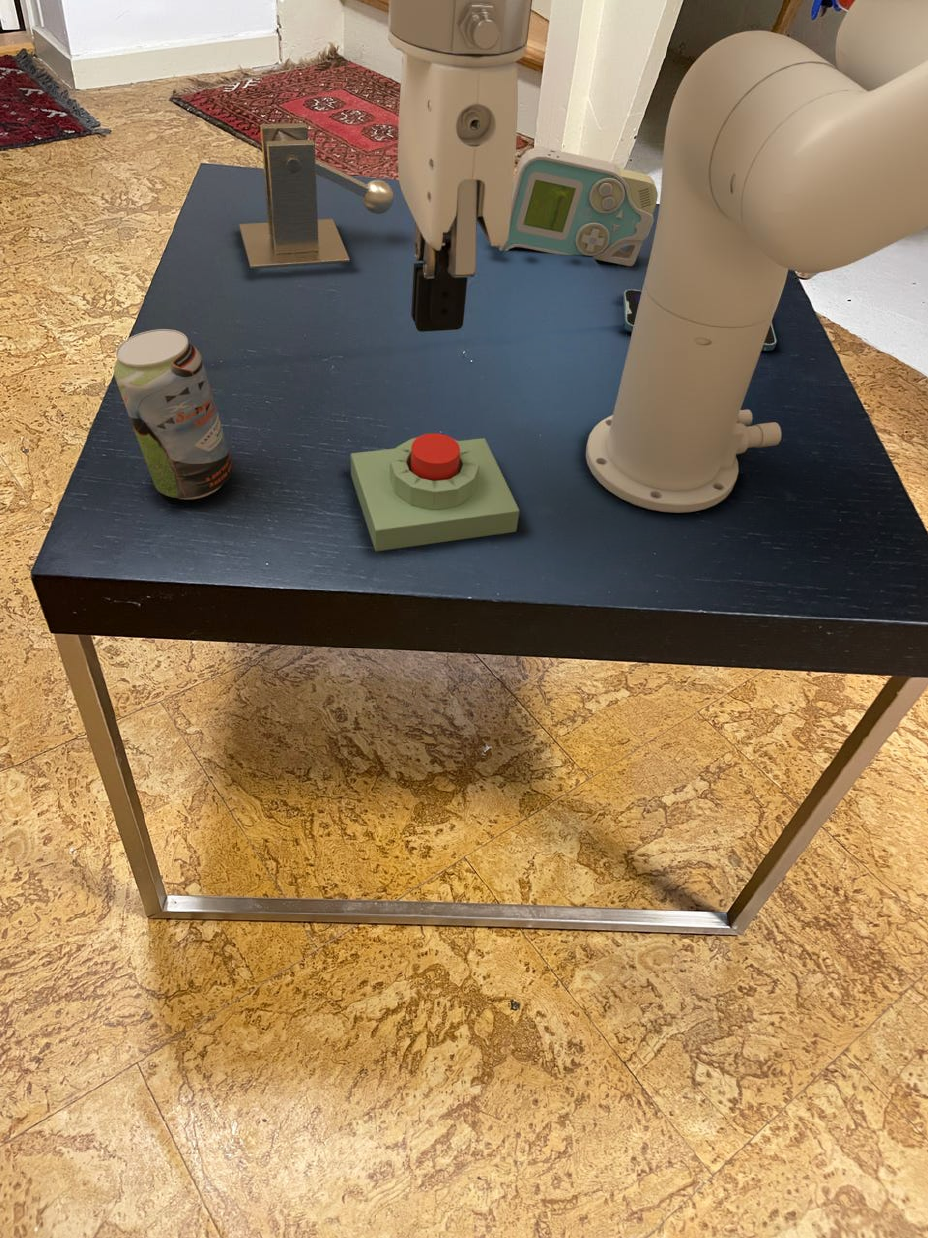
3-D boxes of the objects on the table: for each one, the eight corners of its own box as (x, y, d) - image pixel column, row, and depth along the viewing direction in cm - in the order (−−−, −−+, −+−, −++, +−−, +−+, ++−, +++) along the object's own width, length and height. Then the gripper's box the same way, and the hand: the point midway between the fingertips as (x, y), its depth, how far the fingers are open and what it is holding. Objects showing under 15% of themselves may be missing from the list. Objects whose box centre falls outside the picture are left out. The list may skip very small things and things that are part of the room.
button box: (482, 459, 78) (487, 418, 75) (516, 532, 72) (523, 491, 70) (350, 475, 75) (350, 434, 73) (375, 552, 70) (375, 511, 67)
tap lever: (380, 210, 100) (394, 182, 98) (387, 224, 98) (402, 196, 96) (265, 155, 93) (279, 123, 91) (270, 169, 90) (284, 137, 89)
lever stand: (333, 229, 103) (330, 113, 94) (350, 270, 97) (348, 151, 88) (239, 234, 100) (227, 116, 92) (251, 277, 95) (239, 155, 86)
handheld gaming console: (630, 285, 104) (497, 258, 101) (627, 272, 106) (496, 246, 103) (668, 184, 96) (525, 152, 93) (663, 172, 98) (523, 141, 95)
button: (451, 449, 73) (452, 430, 72) (464, 478, 71) (465, 460, 69) (405, 454, 72) (406, 435, 71) (417, 484, 70) (418, 466, 68)
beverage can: (217, 517, 71) (196, 379, 62) (124, 498, 72) (90, 359, 63) (247, 466, 75) (231, 330, 66) (158, 449, 76) (131, 312, 67)
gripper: (571, 63, 46) (522, 383, 60) (489, -28, 56) (462, 266, 69) (422, 62, 45) (406, 392, 58) (363, -31, 54) (361, 271, 68)
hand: (436, 323), depth 64 cm, fingers closed
